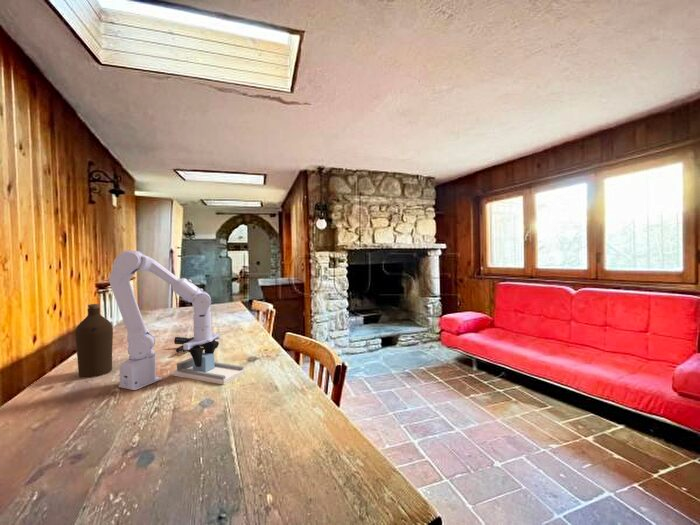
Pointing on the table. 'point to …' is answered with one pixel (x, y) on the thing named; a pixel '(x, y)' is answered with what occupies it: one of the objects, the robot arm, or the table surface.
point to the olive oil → (94, 344)
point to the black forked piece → (184, 340)
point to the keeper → (205, 363)
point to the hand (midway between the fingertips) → (203, 364)
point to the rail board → (209, 372)
